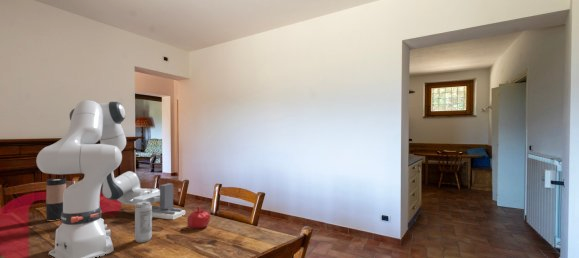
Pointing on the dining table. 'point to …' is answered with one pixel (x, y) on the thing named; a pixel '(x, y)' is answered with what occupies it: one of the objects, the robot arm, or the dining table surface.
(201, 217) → the pomegranate
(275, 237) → the dining table surface
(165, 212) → the fader board
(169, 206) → the fader tab
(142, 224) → the energy drink can
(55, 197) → the travel mug
